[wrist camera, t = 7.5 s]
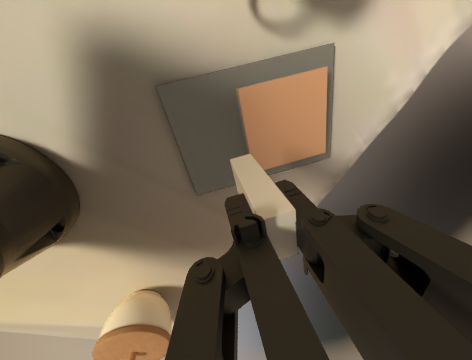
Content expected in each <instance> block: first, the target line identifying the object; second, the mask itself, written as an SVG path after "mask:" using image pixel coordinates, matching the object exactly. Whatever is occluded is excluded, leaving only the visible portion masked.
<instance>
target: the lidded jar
mask: <svg viewBox="0 0 472 360" xmlns="http://www.w3.org/2000/svg"><path fill="white" fill-rule="evenodd" d="M170 338H171V313H170V309H169V306H168V304H167V303H166V301H165V300H164V299H163V298H162V296H161V295H160V294H159V293H157V292H155V291H151V290H141V291H137V292H135V293H133V294H131V295H130V296H129V297H128V298H126V299H125V300H123V301H122V302H121V303H119V304H118V305H117V306H116V307H115V309H114V310H113V311H112V312H111V314H110V315H109V317H108V319H107V320H106V322H105V324H104V326H103V328H102V331H101V333H100V336H99V339H98V341H97V342H96V344H95V347H94V349H93V353H92V356H93V359H94V360H160V359H162V358H163V357H164V356H165V355H166V353H167V349H168V345H169V341H170Z"/></svg>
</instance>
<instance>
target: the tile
mask: <svg viewBox="0 0 472 360" xmlns="http://www.w3.org/2000/svg"><path fill="white" fill-rule="evenodd" d="M327 70H328V66H327V67H318V68H314V69H310V70H306V71H302V72H298V73H294V74H290V75H286V76H282V77H278V78H274V79H270V80H266V81H262V82H258V83H254V84H250V85H246V86H242V87H238V88H235V93H236V98H237V104H238V109H239V114H240V119H241V124H242V129H243V134H244V139H245V145H246V150H247V154H251V155H252V156H253V158H254V159H255V160H256V161H257V163H258V164H259V165H260V166H261V167H262V169H263V170H266V169H269V168H273V167H276V166H280V165H283V164H287V163H290V162H294V161H297V160H301V159H304V158H308V157H311V156H315V155H318V154H322V153H325V152H326V111H327Z"/></svg>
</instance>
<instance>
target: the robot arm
mask: <svg viewBox="0 0 472 360" xmlns="http://www.w3.org/2000/svg"><path fill="white" fill-rule="evenodd" d="M230 163H231V167H232V171H233V175H234V179H235V183H236V187H237V191H238V194H239V195H235V196H232V197H229V198H227V199H226V202H225V208H226V211H227V215H228V219H229V222H230V226H231V233H232V236H233V239H234V241H233V245H232V247H231V248H230V250H229V251H228V252H227V253H226V254H224V255H223V256H221V257H220V258H218V259H215V258H213V257H206V258H203V259H200V260H198V261H197V262H195V263H194V264H193V265H192V267H191V268H190V269H189V271H188V273H187V276H186V280H185V284H184V288H183V291H182V295H181V299H180V303H179V307H178V311H177V314H176V318H175V322H174V326H173V330H172V334H171V338H170V341H169V345H168V349H167V353H166V357H165V360H237V338H238V336H237V334H238V309H239V308H241V307H242V306H243V305H244V304H246V303H247V302H248V301H249V300H251V303H252V307H253V310H254V314H255V318H256V322H257V325H258V329H259V332H260V336H261V340H262V343H263V347H264V350H265V354H266V358H267V360H329V358H328V356H327V354H326V352H325V350H324V348H323V346H322V344H321V342H320V340H319V338H318V336H317V334H316V332H315V330H314V328H313V326H312V324H311V322H310V320H309V318H308V316H307V314H306V312H305V310H304V308H303V306H302V304H301V302H300V300H299V298H298V296H297V294H296V292H295V290H294V288H293V286H292V284H291V282H290V280H289V278H288V276H287V274H286V272H285V270H284V268H283V266H282V264H281V262H280V260H283V259H286V258H288V257H291V256H294V255H297V254H298V247H299V249H300V250H301V252H302V253H303V262H304V272H305V275H307V274H308V270H309V272H310V273H311V275H312V276H313V278H314V280H315V281H316V283H317V284H318V286H319V288H320V289H321V291H322V293H323V294H324V296H325V298H326V299H327V301H328V302H329V304H330V306H331V307H332V309H333V310H334V312H335V314H336V315H337V317H338V318H339V320H340V322H341V324H342V325H343V327H344V328H345V330H346V332H347V333H348V335H349V336H350V338H351V340H352V341H353V343H354V344H355V346H356V348H357V350H358V351H359V353H360V354H361V356H362V358H363V359H364V360H472V246H471V245H469V244H466V243H464V242H462V241H460V240H458V239H456V238H453V237H451V236H449V235H447V234H445V233H442V232H440V231H438V230H436V229H434V228H432V227H429V226H427V225H425V224H423V223H421V222H418V221H416V220H414V219H412V218H410V217H408V216H405V215H403V214H401V213H399V212H397V211H395V210H392V209H390V208H388V207H385V206H382V205H376V204H368V205H363V206H361V207H360V208H359V209H358V210H357V215H349V216H348V215H347V216H335V215H334V214H332V213H331V212H330V211H327V210H325V209H319V208H317V207H316V206H315V205H314V204H313V203H312V202H311V201H310V200H309V199H308V198H307V197H306V196H305V195H304V194H303V193H302V192H301V191H300V190H299V189H298V188H297V187H296V186H295V185H294V184H293V183H291V182H289V181H287V180H283V181H280V182H276V183H274V182H273V181H272V180H271V179H270V177H269V176H268V175H267V174H266V172H265V171H264V170H263V169H262V167H261V166H260V165H259V164H258V163H257V161H256V160H255V159H254V158H253V156H252V155H251V154H247V155H244V156H240V157H237V158H233V159H230ZM78 214H79V198H78V194H77V192H76V189H75V187H74V185H73V184H72V182H71V181H70V179H69V178H68V176H67V175H66V174H65V173H64V172H63V171H62V170H61V169H60V168H59V167H58V166H57V165H56V164H55V163H54V162H53V161H51V160H50V159H49V158H47V157H46V156H44V155H43V154H41V153H40V152H38V151H36V150H35V149H33V148H31V147H29V146H27V145H25V144H23V143H20V142H18V141H16V140H13V139H10V138H7V137H4V136H1V135H0V278H1V277H2V276H3V275H5V274H6V273H8V272H10V271H11V270H13V269H15V268H16V267H18V266H20V265H21V264H23V263H25V262H26V261H28V260H30V259H31V258H33V257H35V256H36V255H38V254H39V253H41V252H43V251H44V250H46V249H48V248H49V247H51V246H53V245H54V244H55V243H57V242H58V241H59V240H60V239H61V238H62V237H63V236H64V235H65V234H66V233H67V231H68V230H69V229H70V228H71V227H72V226H73V224H74V223H75V221H76V219H77V217H78ZM391 250H393V251H395V252H396V253H398V254H399V255H397V254H394V253H392V252H390V251H391Z"/></svg>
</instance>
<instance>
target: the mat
mask: <svg viewBox="0 0 472 360" xmlns="http://www.w3.org/2000/svg"><path fill="white" fill-rule="evenodd" d="M327 66H328V70H327V111H326V152H325V153H322V154H318V155H315V156H311V157H308V158H304V159H301V160H297V161H294V162H290V163H287V164H283V165H280V166H276V167H273V168H269V169H266V170H264V171H265V172H266V174H267V175H271V174H274V173H278V172H281V171H285V170H288V169H292V168H295V167H299V166H302V165H306V164H309V163H313V162H316V161H320V160H323V159H327V158H330V146H331V120H332V93H333V67H334V43H331V44H327V45H323V46H319V47H315V48H311V49H307V50H303V51H299V52H295V53H290V54H286V55H282V56H278V57H274V58H270V59H266V60H262V61H258V62H254V63H249V64H245V65H241V66H237V67H233V68H229V69H225V70H221V71H217V72H213V73H208V74H204V75H200V76H196V77H192V78H188V79H184V80H180V81H176V82H172V83H168V84H163V85H159V86H156V89H157V91H158V94H159V97H160V99H161V102H162V104H163V107H164V110H165V112H166V115H167V118H168V120H169V123H170V125H171V128H172V131H173V133H174V136H175V139H176V141H177V144H178V146H179V149H180V152H181V154H182V157H183V160H184V162H185V165H186V167H187V170H188V173H189V175H190V178H191V181H192V183H193V186H194V188H195V191H196V194H197V196H198V195H201V194H205V193H208V192H212V191H215V190H219V189H222V188H226V187H229V186H233V185H236V183H235V179H234V175H233V171H232V167H231V163H230V159H233V158H237V157H240V156H244V155H247V150H246V145H245V139H244V134H243V129H242V124H241V119H240V114H239V109H238V104H237V98H236V93H235V88H238V87H242V86H246V85H250V84H254V83H258V82H262V81H266V80H270V79H274V78H278V77H282V76H286V75H290V74H294V73H298V72H302V71H306V70H310V69H314V68H318V67H327Z"/></svg>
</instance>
